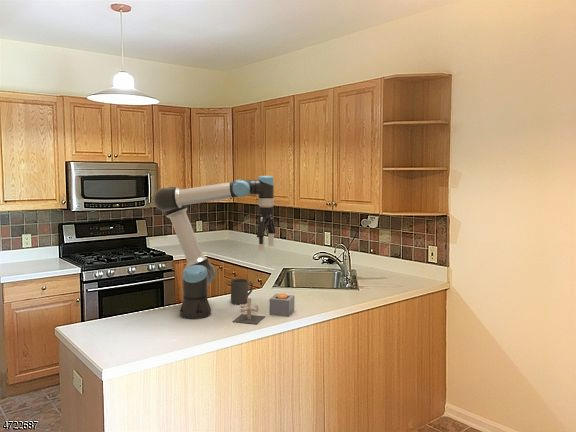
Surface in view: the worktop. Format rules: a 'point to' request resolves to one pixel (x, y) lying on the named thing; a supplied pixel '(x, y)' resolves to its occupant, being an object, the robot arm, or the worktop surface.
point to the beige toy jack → (249, 308)
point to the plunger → (281, 296)
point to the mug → (240, 291)
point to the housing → (282, 305)
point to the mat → (243, 319)
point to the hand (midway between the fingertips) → (266, 248)
